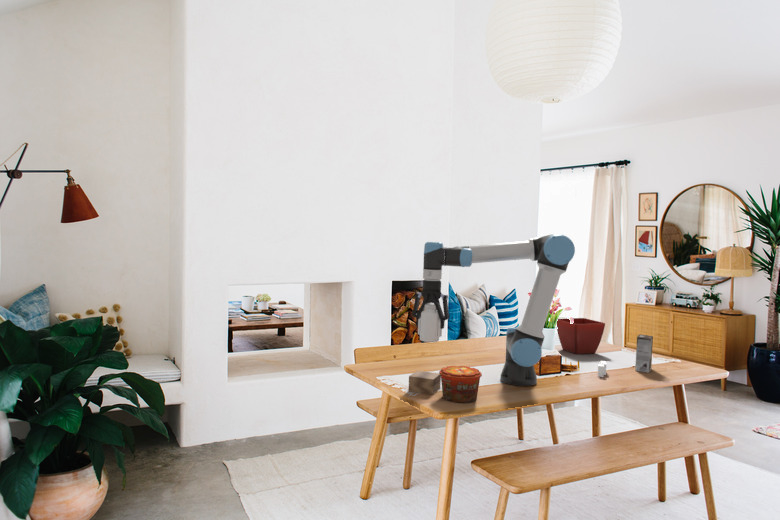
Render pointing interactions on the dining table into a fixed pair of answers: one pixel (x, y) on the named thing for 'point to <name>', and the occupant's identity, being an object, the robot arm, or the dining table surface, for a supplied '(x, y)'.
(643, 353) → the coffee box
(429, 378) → the walnut block
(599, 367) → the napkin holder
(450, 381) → the food container
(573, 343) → the plant pot
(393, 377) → the dining table surface
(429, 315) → the pill bottle
